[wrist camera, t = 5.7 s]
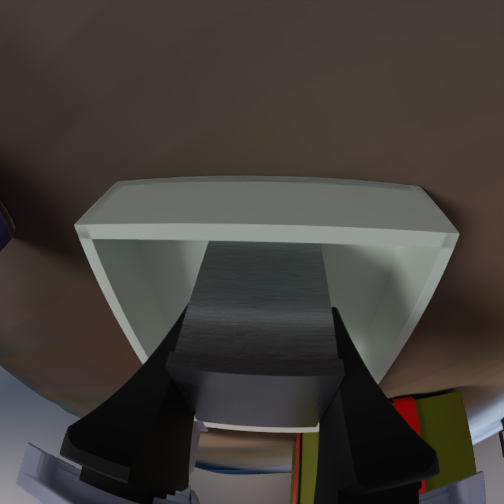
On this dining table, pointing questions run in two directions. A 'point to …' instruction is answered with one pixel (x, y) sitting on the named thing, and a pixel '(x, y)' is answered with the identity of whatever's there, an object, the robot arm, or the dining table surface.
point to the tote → (270, 230)
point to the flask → (5, 227)
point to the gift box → (427, 427)
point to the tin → (258, 337)
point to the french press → (503, 442)
